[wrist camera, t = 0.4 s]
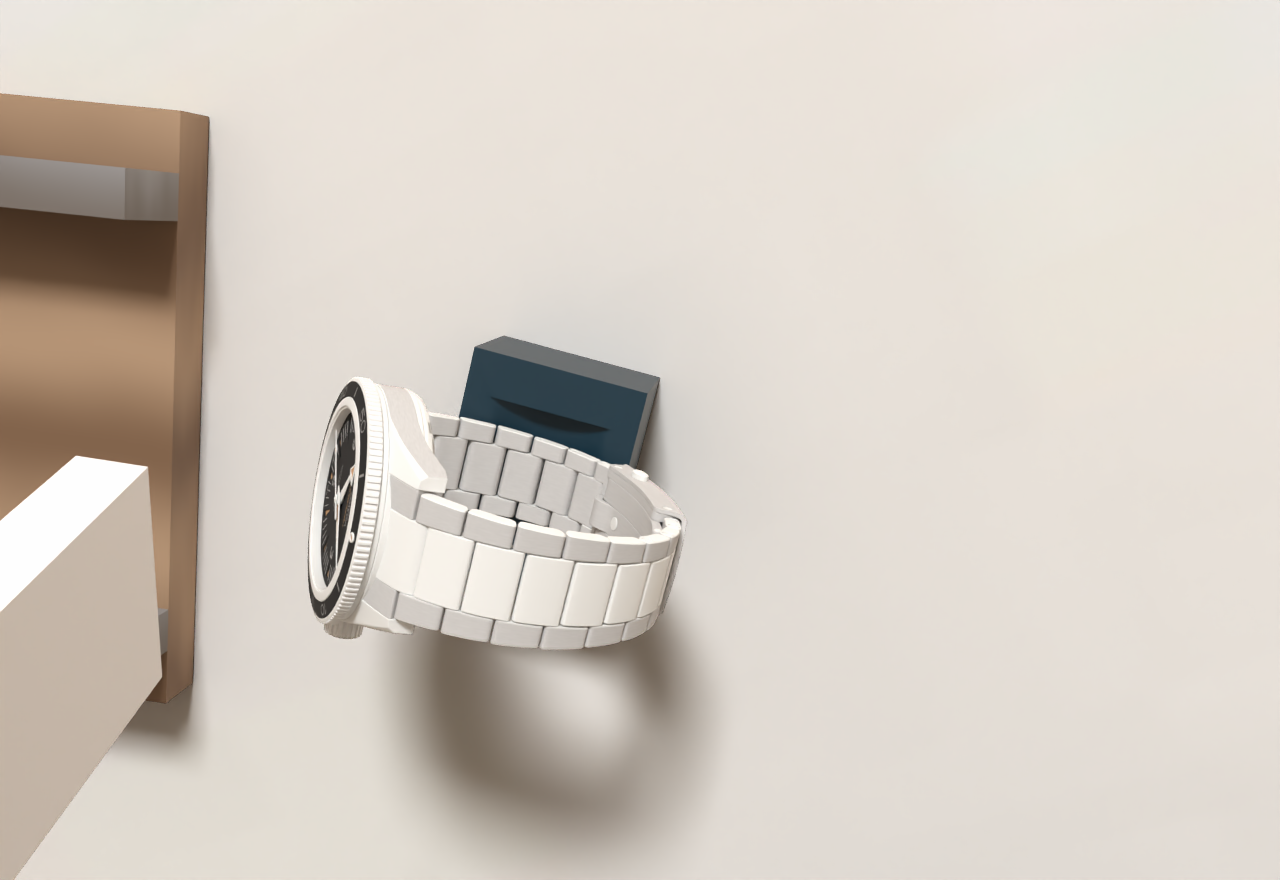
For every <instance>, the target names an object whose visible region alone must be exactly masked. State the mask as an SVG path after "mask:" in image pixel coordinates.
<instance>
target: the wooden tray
mask: <svg viewBox="0 0 1280 880" xmlns="http://www.w3.org/2000/svg"><path fill="white" fill-rule="evenodd" d="M208 128H209V117H207V116H203V115H198V114H193V113H189V112H184V111H177V110H167V109H157V108H146V107H136V106H126V105H115V104H105V103H94V102H84V101H74V100H63V99H53V98H42V97H32V96H22V95H11V94H1V93H0V521H1V520H2V519H3V518H4V517H5V516H6V515H8V514H9V513H10V512H11V511H12V510H13V509H15V508H16V507H17V506H18V505H19V504H20V503H22V502H23V501H24V500H25V499H26V498H27V497H29V496H30V495H31V494H32V493H33V492H34V491H36V490H37V489H38V488H39V487H40V486H41V485H43V484H44V483H45V482H46V481H47V480H48V479H50V478H51V477H52V476H53V475H54V474H55V473H57V472H58V471H59V470H60V469H61V468H62V467H64V466H65V465H66V464H67V463H68V462H69V461H71V460H72V459H73V458H74V457H75V456H81V457H88V458H94V459H101V460H107V461H113V462H120V463H126V464H133V465H139V466H146V467H148V475H149V490H150V505H151V519H152V534H153V549H154V563H155V578H156V593H157V607H158V622H159V637H160V651H161V666H162V678H161V679H160V681H159V682H158V683H157V685H156V686H155V687H154V689H153V690H152V691H151V693H150V694H149V696H148V697H147V698H146V701H153V702H160V703H167V702H169V701H170V700H171V699H172V698H174V697H175V696H176V695H178V694H179V693H180V692H181V691H183V690H184V689H185V688H187V687H188V686H189V685H190V684H192V683H193V651H194V616H195V581H196V547H197V512H198V477H199V442H200V407H201V372H202V337H203V303H204V268H205V233H206V198H207V163H208Z"/></svg>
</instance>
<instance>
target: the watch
mask: <svg viewBox="0 0 1280 880" xmlns="http://www.w3.org/2000/svg"><path fill="white" fill-rule="evenodd" d="M659 379H660V377H656V376H652V375H648V374H645V373H641V372H637V371H634V370H630V369H626V368H622V367H619V366H615V365H611V364H607V363H604V362H600V361H596V360H593V359H589V358H585V357H581V356H578V355H574V354H570V353H566V352H563V351H559V350H555V349H552V348H548V347H544V346H540V345H537V344H533V343H529V342H526V341H522V340H518V339H514V338H511V337H507V336H502V337H499V338H497V339H494V340H491V341H489V342H486V343H483V344H481V345H478V346H476V347H475V348H474V352H473V357H472V361H471V366H470V370H469V374H468V379H467V383H466V388H465V392H464V397H463V401H462V405H461V410H460V414H459V418H458V417H455V416H450V415H445V414H438V413H432V412H428V411H427V408H426V406H425V403H424V402H423V400H422V399H421V398H420V397H419V396H418V395H417V394H415V393H414V392H412V391H411V390H409V389H405V388H401V387H394V386H388V385H382V384H374V382H373V381H372V380H371V379H368V378H363V377H353V378H352V379H351V380H349V381H348V383H347V384H346V385H345V387H344V388H343V390H342V392H341V394H340V395H339V397H338V399H337V401H336V404H335V406H334V409H333V411H332V414H331V417H330V420H329V423H328V426H327V430H326V433H325V437H324V441H323V445H322V449H321V454H320V458H319V463H318V468H317V473H316V479H315V485H314V492H313V499H312V507H311V516H310V526H309V540H308V582H309V592H310V598H311V603H312V607H313V611H314V614H315V616H316V618H317V619H318V621H319V622H320V623H322V624H324V630H325V632H326V633H328V634H329V635H332V636H333V637H338V638H343V639H353V638H357V637H360V635H361V634H362V630H363V626H364V627H368V628H372V629H376V630H380V631H385V632H389V633H395V634H409V635H412V634H413V631H414V627H415V626H419V627H422V628H426V629H430V630H434V631H438V630H439V629H440V628H441V633H443V634H446V635H450V636H455V637H459V638H464V639H469V640H474V641H480V642H488V641H489V639H490V635H491V630H492V626H493V622H494V619H495V622H494V627H493V631H492V635H491V639H490V643H491V644H494V645H500V646H509V647H519V648H538V646H539V647H540V649H543V650H573V649H582V648H583V647H587V648H591V647H599V646H605V645H611V644H615V643H619V642H620V640H621V641H627V640H630V639H633V638H635V637H637V636H639V635H641V634H643V633H644V632H645V631H648V630H649V629H650V628H651V627H652V626H653V625H654V624H655V621H656V618H657V617H658V615H660V614H662V613H663V610H664V607H665V605H666V602H667V599H668V597H669V594H670V591H671V587H672V584H673V581H674V577H675V574H676V570H677V566H678V562H679V558H680V554H681V550H682V546H683V541H684V536H685V531H686V525H687V520H686V518H685V516H684V515H683V513H682V512H681V510H680V509H679V507H678V506H677V505H676V503H675V502H674V501H673V500H672V499H671V498H670V497H669V496H668V495H667V494H666V493H665V492H664V491H663V490H662V489H661V488H660V487H658V486H657V485H656V484H655V483H653V482H652V481H651V480H649V479H648V478H649V476H648V474H646V473H645V472H643V471H641V470H637V469H636V467H637V464H638V460H639V456H640V452H641V448H642V444H643V440H644V437H645V433H646V429H647V425H648V421H649V417H650V414H651V410H652V406H653V402H654V398H655V394H656V390H657V387H658V383H659ZM468 574H469V576H468ZM467 578H468V580H467ZM466 582H467V584H466ZM465 586H466V589H465ZM518 586H519V587H518ZM517 587H518V591H517ZM464 591H465V593H464ZM516 591H517V595H516ZM463 595H464V597H463ZM515 595H516V600H515ZM462 599H463V601H462ZM514 600H515V604H514ZM461 603H462V606H461ZM513 604H514V608H513ZM445 608H446V609H445ZM512 608H513V612H512ZM444 612H445V614H444ZM511 612H512V616H511ZM443 617H444V618H443ZM442 621H443V622H442ZM441 625H442V627H441Z"/></svg>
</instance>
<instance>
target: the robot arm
mask: <svg viewBox="0 0 1280 880" xmlns="http://www.w3.org/2000/svg"><path fill="white" fill-rule="evenodd" d="M161 678H162V666H161V651H160V637H159V622H158V607H157V593H156V578H155V563H154V549H153V534H152V519H151V505H150V490H149V475H148V467H146V466H139V465H133V464H126V463H120V462H113V461H107V460H101V459H94V458H88V457H81V456H75V457H74V458H73V459H72V460H71V461H69V462H68V463H67V464H66V465H65V466H64V467H62V468H61V469H60V470H59V471H58V472H57V473H55V474H54V475H53V476H52V477H51V478H50V479H48V480H47V481H46V482H45V483H44V484H43V485H41V486H40V487H39V488H38V489H37V490H36V491H34V492H33V493H32V494H31V495H30V496H29V497H27V498H26V499H25V500H24V501H23V502H22V503H20V504H19V505H18V506H17V507H16V508H15V509H13V510H12V511H11V512H10V513H9V514H8V515H6V516H5V517H4V518H3V519H2V520H1V521H0V880H14V879H15V878H16V876H17V875H18V873H19V872H20V871H21V869H22V868H23V867H24V865H25V864H26V862H27V861H28V860H29V858H30V857H31V856H32V854H33V853H34V852H35V850H36V849H37V847H38V846H39V845H40V843H41V842H42V841H43V839H44V838H45V836H46V835H47V834H48V832H49V831H50V830H51V828H52V827H53V826H54V824H55V823H56V821H57V820H58V819H59V817H60V816H61V815H62V813H63V812H64V810H65V809H66V808H67V806H68V805H69V804H70V802H71V801H72V800H73V798H74V797H75V795H76V794H77V793H78V791H79V790H80V789H81V787H82V786H83V784H84V783H85V782H86V780H87V779H88V778H89V776H90V775H91V774H92V772H93V771H94V769H95V768H96V767H97V765H98V764H99V763H100V761H101V760H102V758H103V757H104V756H105V754H106V753H107V752H108V750H109V749H110V748H111V746H112V745H113V743H114V742H115V741H116V739H117V738H118V737H119V735H120V734H121V733H122V731H123V730H124V728H125V727H126V726H127V724H128V723H129V722H130V720H131V719H132V717H133V716H134V715H135V713H136V712H137V711H138V709H139V708H140V707H141V705H142V704H143V702H144V701H145V700H146V698H147V697H148V696H149V694H150V693H151V691H152V690H153V689H154V687H155V686H156V685H157V683H158V682H159V681H160V679H161Z"/></svg>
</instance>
